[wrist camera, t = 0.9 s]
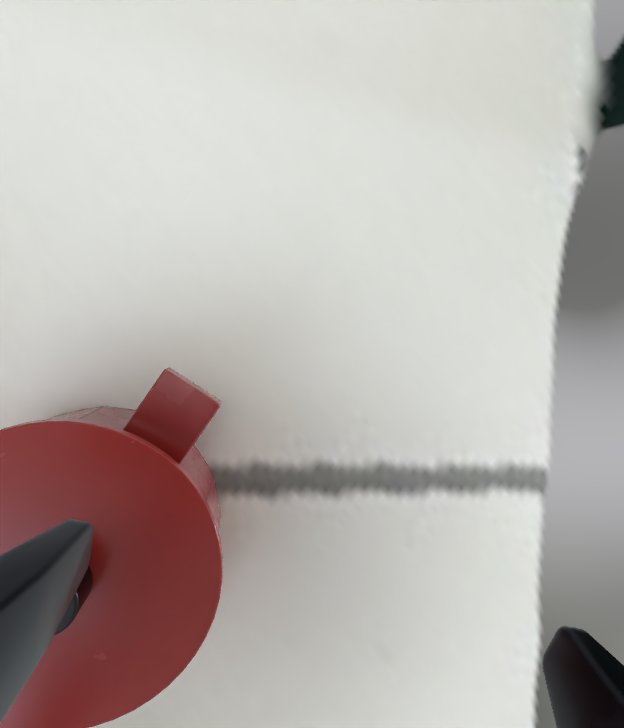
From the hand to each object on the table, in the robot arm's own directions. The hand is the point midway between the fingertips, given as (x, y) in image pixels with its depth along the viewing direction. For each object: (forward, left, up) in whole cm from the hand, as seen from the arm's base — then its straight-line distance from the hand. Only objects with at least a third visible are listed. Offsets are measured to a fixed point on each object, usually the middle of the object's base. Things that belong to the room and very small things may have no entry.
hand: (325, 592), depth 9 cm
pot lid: (-7, +4, -8) cm, 12 cm away
